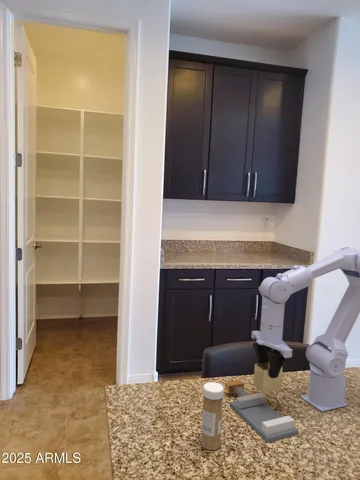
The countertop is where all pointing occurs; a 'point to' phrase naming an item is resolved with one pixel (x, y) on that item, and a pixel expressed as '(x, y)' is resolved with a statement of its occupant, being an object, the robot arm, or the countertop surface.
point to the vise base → (262, 417)
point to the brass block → (266, 378)
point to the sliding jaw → (244, 395)
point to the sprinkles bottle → (212, 415)
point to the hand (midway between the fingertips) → (268, 373)
